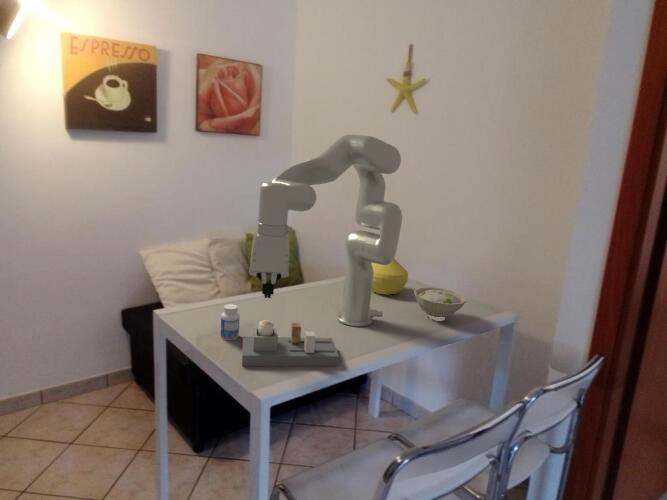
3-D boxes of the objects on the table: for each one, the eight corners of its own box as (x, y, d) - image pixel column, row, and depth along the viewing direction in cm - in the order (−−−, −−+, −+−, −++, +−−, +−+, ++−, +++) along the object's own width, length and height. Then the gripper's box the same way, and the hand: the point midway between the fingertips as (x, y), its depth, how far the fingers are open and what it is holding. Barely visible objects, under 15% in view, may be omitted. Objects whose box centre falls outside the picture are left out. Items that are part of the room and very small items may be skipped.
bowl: (440, 332, 161) (445, 304, 159) (399, 313, 176) (402, 287, 173) (473, 322, 174) (478, 296, 171) (432, 305, 188) (436, 281, 186)
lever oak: (298, 339, 137) (300, 323, 136) (299, 343, 134) (301, 327, 133) (290, 339, 137) (291, 322, 136) (291, 343, 134) (292, 326, 133)
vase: (353, 288, 200) (358, 244, 196) (382, 282, 213) (387, 241, 209) (386, 301, 188) (391, 255, 183) (414, 294, 200) (420, 250, 196)
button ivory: (272, 333, 133) (273, 320, 132) (272, 339, 129) (273, 325, 128) (258, 333, 132) (258, 319, 131) (258, 339, 128) (259, 325, 127)
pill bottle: (221, 332, 144) (223, 302, 142) (239, 333, 145) (241, 303, 143) (219, 340, 139) (220, 309, 137) (237, 341, 140) (239, 310, 137)
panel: (331, 347, 141) (333, 325, 140) (338, 366, 130) (340, 342, 128) (242, 346, 137) (243, 323, 135) (241, 365, 125) (243, 341, 123)
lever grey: (312, 348, 132) (314, 331, 131) (313, 353, 129) (315, 336, 128) (304, 348, 132) (305, 331, 131) (305, 352, 129) (306, 335, 128)
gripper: (299, 229, 129) (293, 293, 133) (243, 225, 126) (239, 291, 130) (301, 234, 122) (296, 302, 126) (242, 231, 119) (239, 300, 123)
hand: (267, 296), depth 128 cm, fingers closed
